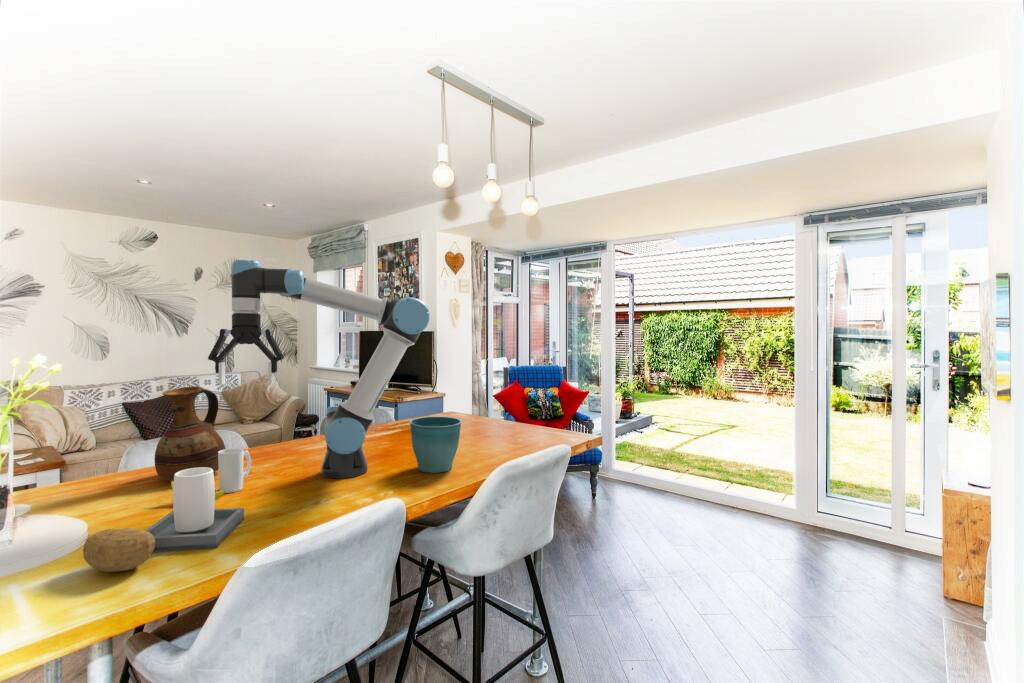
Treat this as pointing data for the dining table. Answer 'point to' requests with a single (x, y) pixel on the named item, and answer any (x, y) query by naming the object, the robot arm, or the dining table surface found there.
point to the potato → (118, 549)
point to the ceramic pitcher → (188, 435)
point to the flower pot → (435, 442)
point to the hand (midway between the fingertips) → (246, 384)
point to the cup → (193, 499)
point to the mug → (232, 469)
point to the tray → (197, 539)
